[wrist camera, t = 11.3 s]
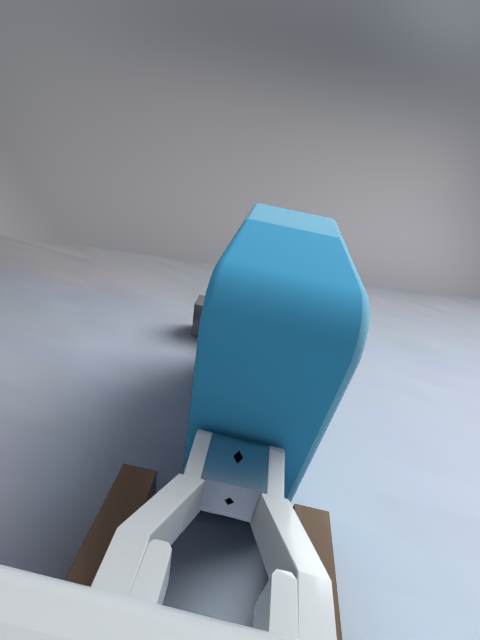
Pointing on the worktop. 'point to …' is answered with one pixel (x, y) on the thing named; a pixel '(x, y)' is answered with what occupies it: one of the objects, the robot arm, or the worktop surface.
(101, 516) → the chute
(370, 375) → the worktop surface
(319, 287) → the data package
